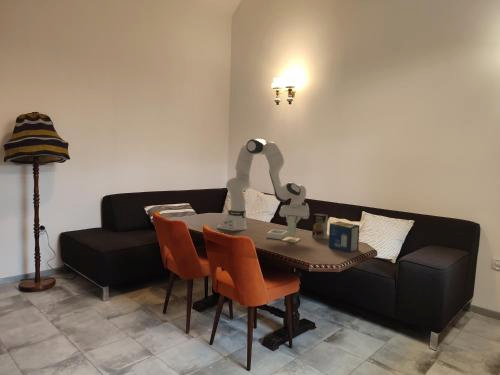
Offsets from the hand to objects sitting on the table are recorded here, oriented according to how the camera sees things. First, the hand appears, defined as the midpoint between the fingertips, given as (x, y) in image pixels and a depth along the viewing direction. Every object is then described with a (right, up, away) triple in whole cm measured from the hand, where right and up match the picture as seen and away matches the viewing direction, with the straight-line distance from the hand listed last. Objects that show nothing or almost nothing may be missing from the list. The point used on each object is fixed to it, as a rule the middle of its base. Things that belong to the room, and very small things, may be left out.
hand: (291, 222), depth 243 cm
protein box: (+30, -15, -15) cm, 37 cm away
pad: (0, -12, +2) cm, 13 cm away
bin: (-9, -11, +11) cm, 18 cm away
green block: (0, -9, +2) cm, 9 cm away
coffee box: (+21, -12, +13) cm, 28 cm away
